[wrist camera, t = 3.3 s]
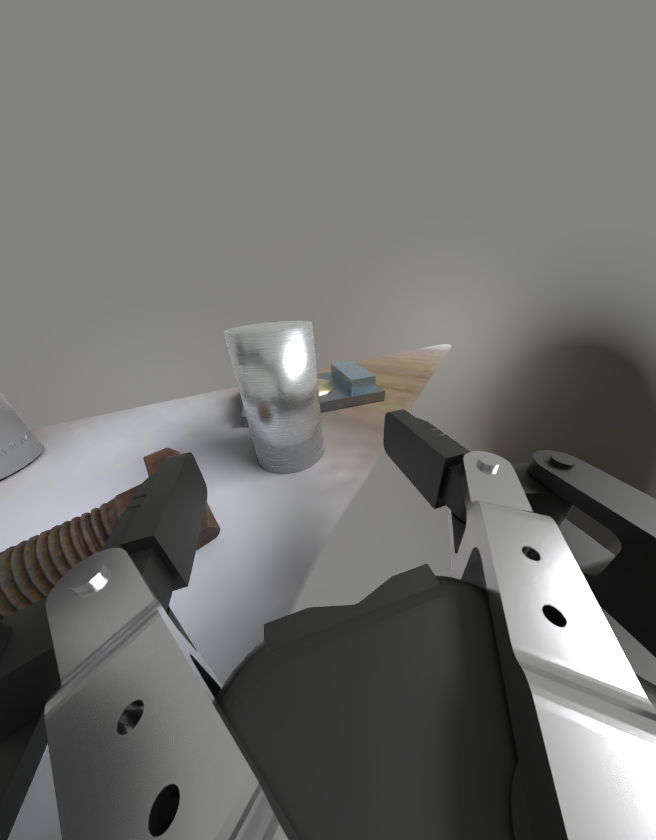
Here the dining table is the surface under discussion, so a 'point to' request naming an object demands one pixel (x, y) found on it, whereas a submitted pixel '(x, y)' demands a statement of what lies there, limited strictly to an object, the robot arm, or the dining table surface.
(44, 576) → the bolt
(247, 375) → the cylinder
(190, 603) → the dining table surface
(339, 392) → the base plate
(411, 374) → the dining table surface
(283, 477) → the dining table surface
